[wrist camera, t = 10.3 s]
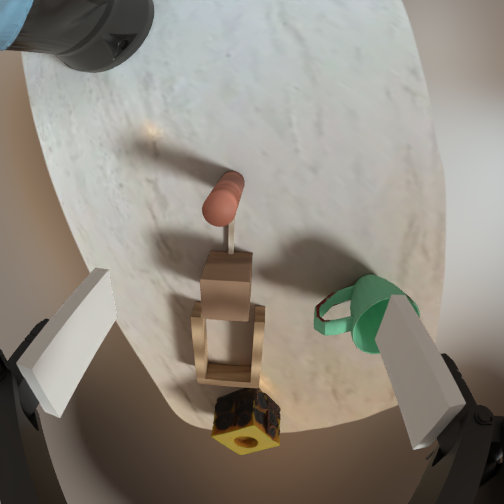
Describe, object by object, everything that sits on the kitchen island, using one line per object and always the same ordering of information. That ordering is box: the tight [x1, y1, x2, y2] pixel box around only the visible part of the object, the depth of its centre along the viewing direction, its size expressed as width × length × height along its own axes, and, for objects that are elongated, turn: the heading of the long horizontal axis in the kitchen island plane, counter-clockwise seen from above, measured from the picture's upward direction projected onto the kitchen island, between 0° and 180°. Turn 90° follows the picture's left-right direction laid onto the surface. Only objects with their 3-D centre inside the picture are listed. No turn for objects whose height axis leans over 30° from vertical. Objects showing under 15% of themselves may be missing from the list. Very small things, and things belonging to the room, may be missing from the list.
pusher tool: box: [200, 171, 253, 322], centre depth 37 cm, size 18×6×12 cm, turn 178°
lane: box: [190, 302, 265, 388], centre depth 49 cm, size 16×11×4 cm
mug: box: [314, 274, 420, 354], centre depth 41 cm, size 15×10×10 cm
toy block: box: [211, 388, 280, 455], centre depth 54 cm, size 10×10×10 cm
